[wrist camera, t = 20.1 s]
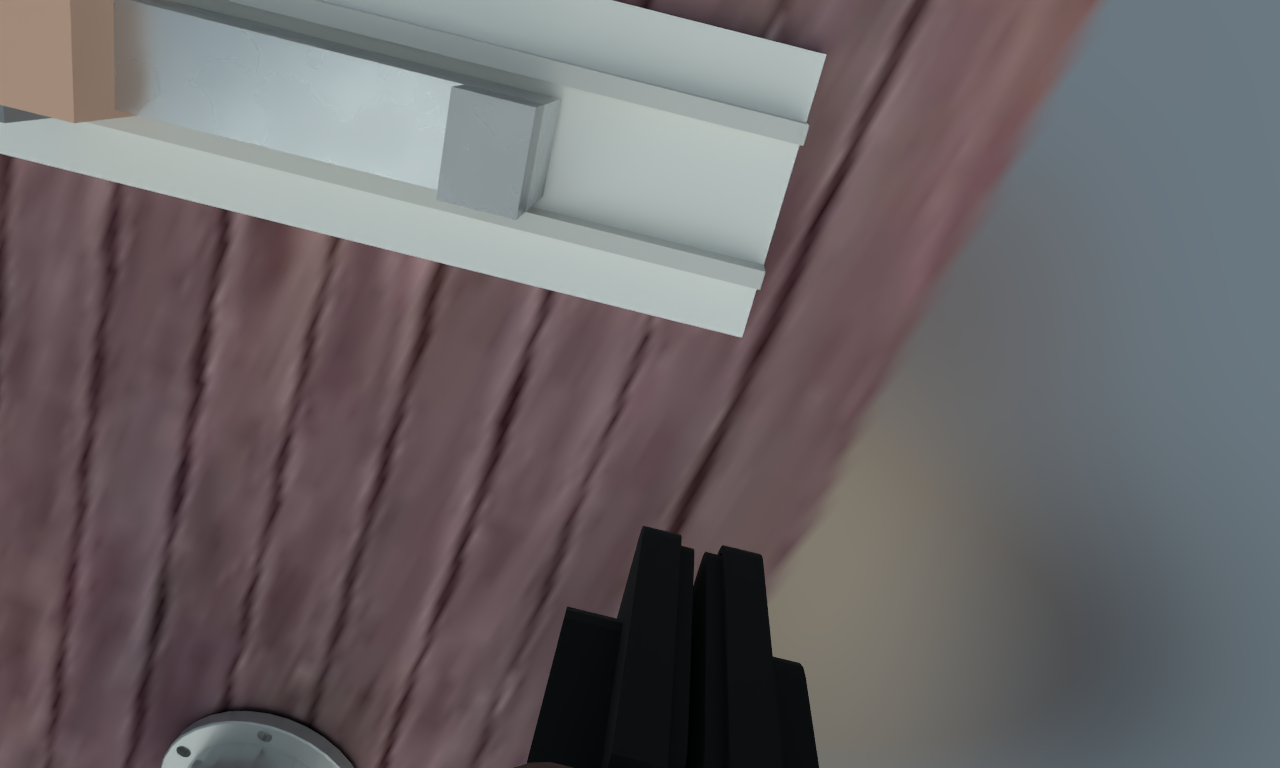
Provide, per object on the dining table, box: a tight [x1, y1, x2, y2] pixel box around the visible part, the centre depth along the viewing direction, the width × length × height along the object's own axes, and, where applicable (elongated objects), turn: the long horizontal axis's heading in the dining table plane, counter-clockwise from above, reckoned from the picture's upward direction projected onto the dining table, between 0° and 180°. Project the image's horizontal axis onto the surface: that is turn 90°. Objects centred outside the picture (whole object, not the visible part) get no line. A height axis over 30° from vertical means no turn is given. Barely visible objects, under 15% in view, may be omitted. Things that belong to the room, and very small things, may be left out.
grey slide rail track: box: [0, 0, 826, 337], centre depth 33 cm, size 12×34×5 cm, turn 77°
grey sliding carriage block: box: [113, 0, 561, 220], centre depth 32 cm, size 4×16×5 cm, turn 77°
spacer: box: [0, 0, 138, 123], centre depth 32 cm, size 4×4×6 cm
